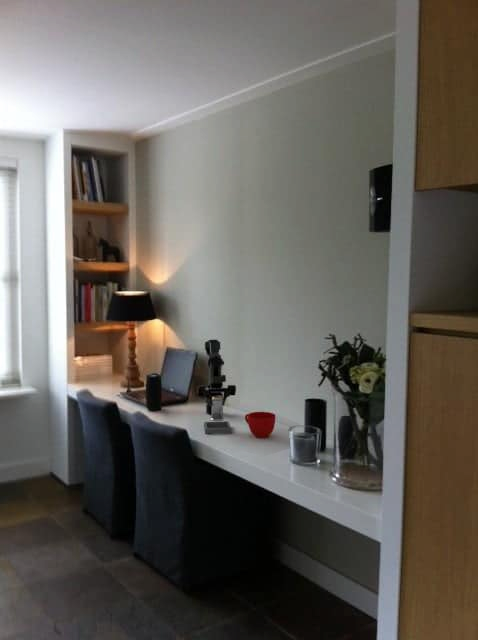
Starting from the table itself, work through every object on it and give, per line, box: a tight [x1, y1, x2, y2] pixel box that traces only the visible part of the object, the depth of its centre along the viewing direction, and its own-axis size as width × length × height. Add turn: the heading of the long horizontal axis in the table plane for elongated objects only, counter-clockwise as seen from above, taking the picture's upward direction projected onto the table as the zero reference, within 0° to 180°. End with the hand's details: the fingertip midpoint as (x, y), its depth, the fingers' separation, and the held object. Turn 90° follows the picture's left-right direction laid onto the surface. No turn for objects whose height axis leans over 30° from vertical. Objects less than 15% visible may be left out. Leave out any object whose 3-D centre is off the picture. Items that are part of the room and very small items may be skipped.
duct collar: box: [203, 420, 232, 435], centre depth 297 cm, size 12×12×2 cm
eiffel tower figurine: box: [116, 375, 133, 400], centre depth 369 cm, size 15×10×13 cm
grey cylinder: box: [209, 395, 225, 422], centre depth 296 cm, size 7×7×11 cm
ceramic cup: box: [244, 411, 276, 439], centre depth 289 cm, size 13×17×10 cm
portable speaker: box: [145, 372, 163, 412], centre depth 337 cm, size 9×9×20 cm
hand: (217, 405), depth 295 cm, fingers closed on grey cylinder, 5 cm apart
